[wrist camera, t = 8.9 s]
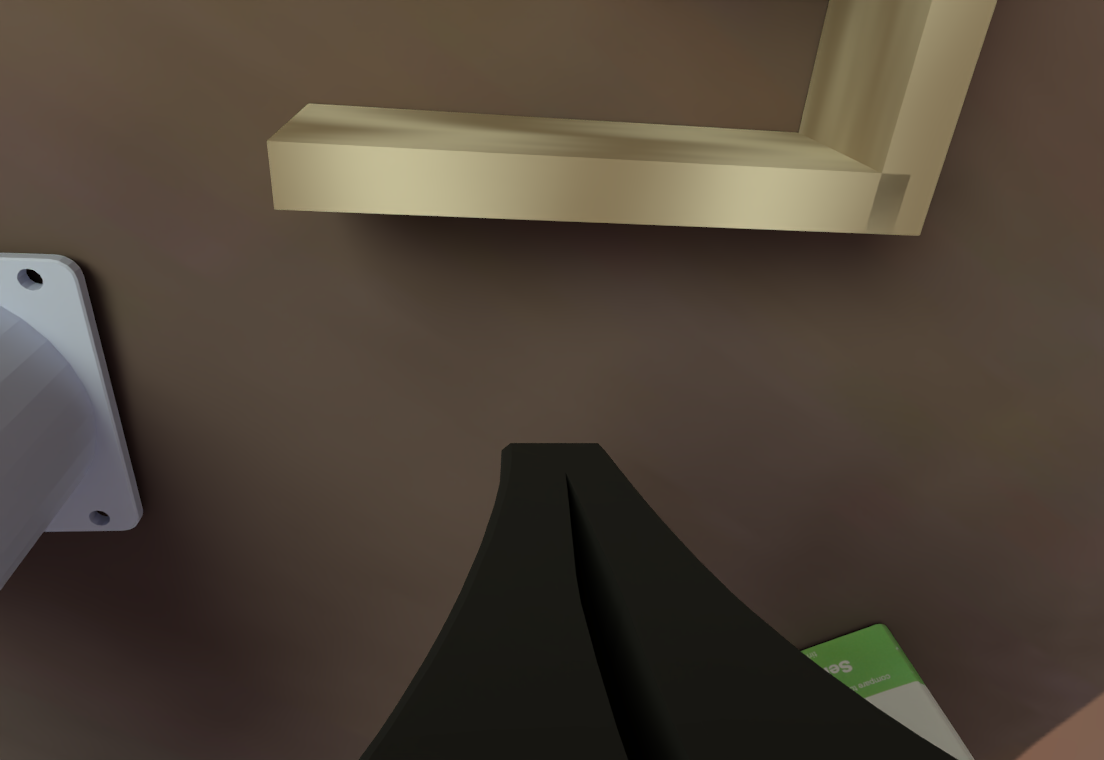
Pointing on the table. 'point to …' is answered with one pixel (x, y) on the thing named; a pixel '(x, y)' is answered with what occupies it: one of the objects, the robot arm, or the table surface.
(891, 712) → the ink box
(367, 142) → the beige piece
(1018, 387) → the table surface
